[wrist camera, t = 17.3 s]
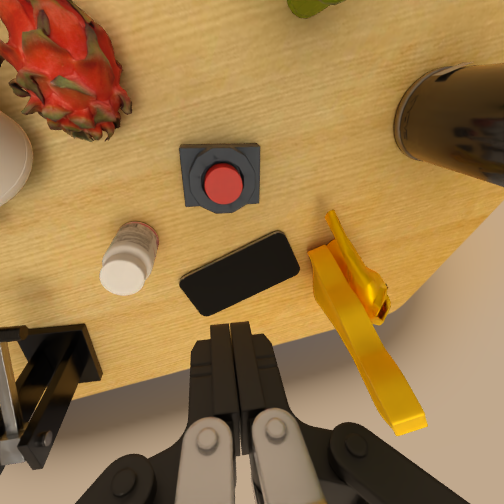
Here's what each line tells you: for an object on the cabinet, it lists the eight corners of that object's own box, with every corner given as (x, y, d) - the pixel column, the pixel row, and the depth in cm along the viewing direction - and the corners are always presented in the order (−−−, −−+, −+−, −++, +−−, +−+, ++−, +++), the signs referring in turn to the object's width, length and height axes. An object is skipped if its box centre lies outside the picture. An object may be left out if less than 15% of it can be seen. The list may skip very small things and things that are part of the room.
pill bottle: (150, 262, 36) (137, 305, 29) (111, 247, 34) (87, 289, 27) (165, 230, 35) (156, 268, 27) (125, 213, 33) (103, 248, 26)
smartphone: (302, 272, 40) (204, 319, 41) (300, 270, 40) (204, 315, 41) (282, 229, 36) (175, 281, 37) (281, 227, 36) (176, 278, 38)
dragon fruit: (123, 141, 31) (49, 9, 26) (172, 111, 25) (89, -61, 21) (45, 170, 25) (-69, 7, 20) (87, 140, 20) (-55, -90, 15)
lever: (-25, 326, 29) (-45, 336, 27) (30, 321, 30) (14, 331, 28) (2, 448, 32) (-15, 468, 29) (51, 441, 32) (39, 460, 30)
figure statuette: (367, 293, 44) (493, 447, 25) (320, 315, 45) (408, 480, 26) (335, 192, 35) (491, 311, 16) (276, 221, 36) (361, 367, 17)
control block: (256, 140, 31) (263, 147, 28) (255, 199, 34) (262, 211, 31) (180, 142, 30) (177, 148, 27) (186, 202, 33) (184, 215, 30)
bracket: (19, 329, 38) (-64, 439, 26) (84, 323, 39) (33, 426, 27) (45, 380, 43) (-15, 492, 31) (103, 373, 44) (66, 479, 32)
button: (240, 162, 28) (242, 166, 27) (240, 198, 30) (243, 203, 29) (203, 163, 28) (203, 167, 26) (205, 199, 30) (205, 205, 28)
